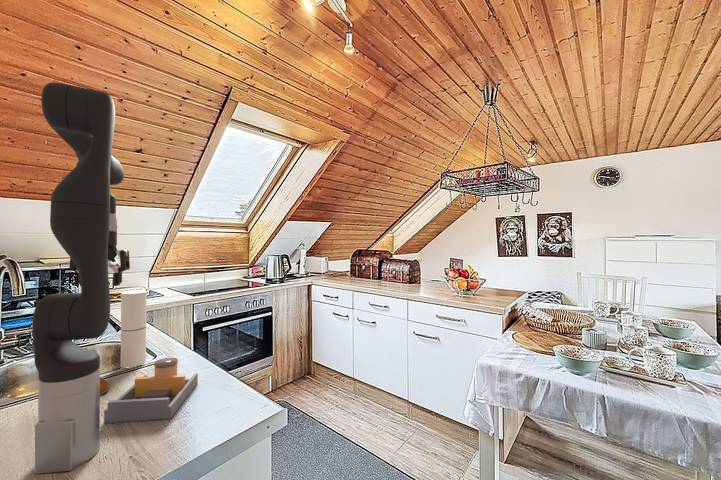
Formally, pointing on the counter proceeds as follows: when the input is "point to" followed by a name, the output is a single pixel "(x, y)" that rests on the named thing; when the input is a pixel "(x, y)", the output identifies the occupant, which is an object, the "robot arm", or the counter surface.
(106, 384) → the pastry
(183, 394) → the lane
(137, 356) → the cylindrical container
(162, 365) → the jar
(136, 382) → the pusher
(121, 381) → the counter surface
